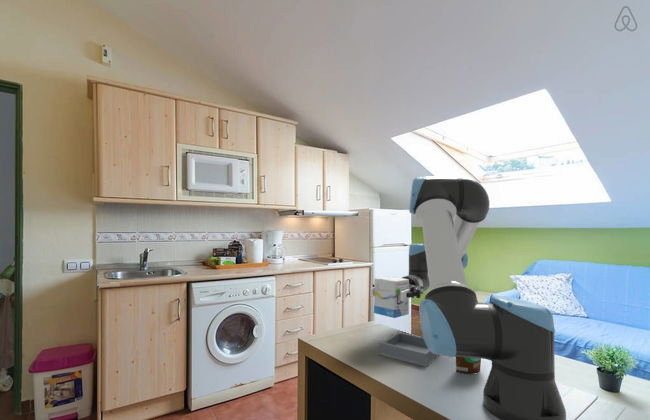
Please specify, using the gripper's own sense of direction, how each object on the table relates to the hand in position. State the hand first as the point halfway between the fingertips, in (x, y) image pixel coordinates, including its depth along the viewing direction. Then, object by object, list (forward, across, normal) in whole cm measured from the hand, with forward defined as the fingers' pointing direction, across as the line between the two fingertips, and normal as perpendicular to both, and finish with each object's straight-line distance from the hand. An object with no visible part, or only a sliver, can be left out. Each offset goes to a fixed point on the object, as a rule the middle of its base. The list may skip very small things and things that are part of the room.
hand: (386, 294), depth 105 cm
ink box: (-4, 0, -7) cm, 8 cm away
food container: (-1, -25, -18) cm, 31 cm away
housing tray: (-2, -8, -18) cm, 19 cm away
